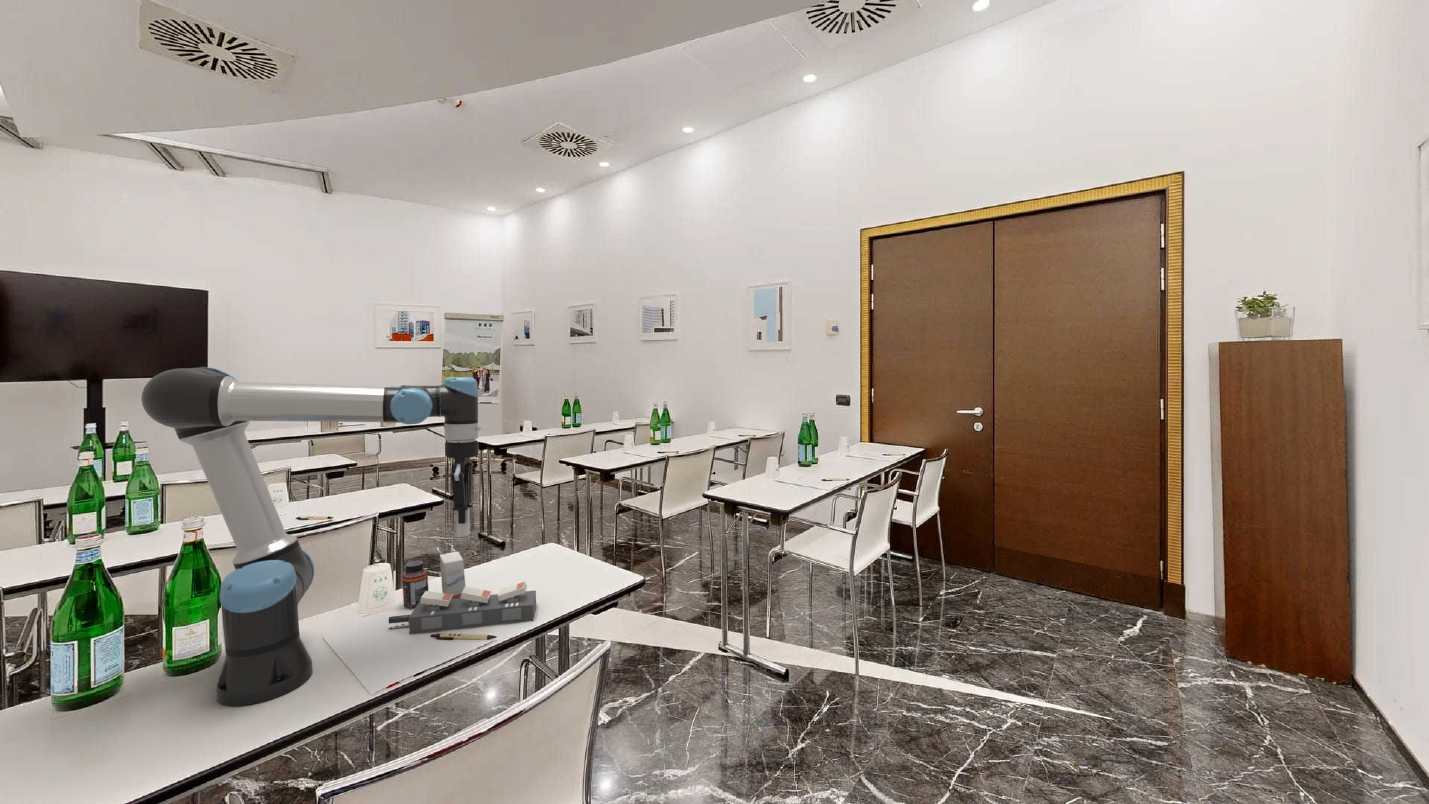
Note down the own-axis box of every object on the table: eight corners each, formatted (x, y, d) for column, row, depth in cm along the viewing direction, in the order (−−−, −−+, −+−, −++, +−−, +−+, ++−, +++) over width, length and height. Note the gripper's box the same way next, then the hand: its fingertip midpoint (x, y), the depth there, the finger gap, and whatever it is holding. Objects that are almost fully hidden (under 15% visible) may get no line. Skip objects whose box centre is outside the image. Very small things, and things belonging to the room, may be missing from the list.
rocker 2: (459, 600, 139) (461, 592, 139) (463, 593, 143) (465, 585, 143) (486, 605, 140) (488, 597, 140) (489, 598, 144) (491, 590, 144)
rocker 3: (499, 602, 141) (497, 595, 141) (502, 596, 145) (499, 589, 145) (525, 594, 142) (523, 587, 142) (527, 587, 146) (525, 580, 146)
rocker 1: (419, 604, 137) (421, 597, 137) (424, 597, 141) (425, 590, 141) (447, 608, 138) (449, 600, 138) (451, 601, 142) (453, 593, 142)
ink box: (467, 602, 151) (465, 559, 151) (446, 607, 149) (444, 563, 148) (461, 591, 159) (459, 550, 158) (441, 596, 156) (439, 554, 155)
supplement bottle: (401, 604, 151) (398, 562, 150) (425, 597, 155) (423, 557, 154) (407, 611, 147) (404, 568, 146) (432, 604, 150) (429, 563, 150)
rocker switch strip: (383, 637, 133) (382, 616, 133) (395, 619, 142) (394, 600, 142) (533, 620, 140) (532, 601, 140) (536, 605, 149) (535, 586, 149)
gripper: (472, 443, 134) (474, 542, 135) (483, 436, 146) (484, 527, 148) (438, 444, 132) (440, 544, 134) (451, 437, 145) (453, 528, 146)
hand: (463, 535), depth 141 cm, fingers closed
